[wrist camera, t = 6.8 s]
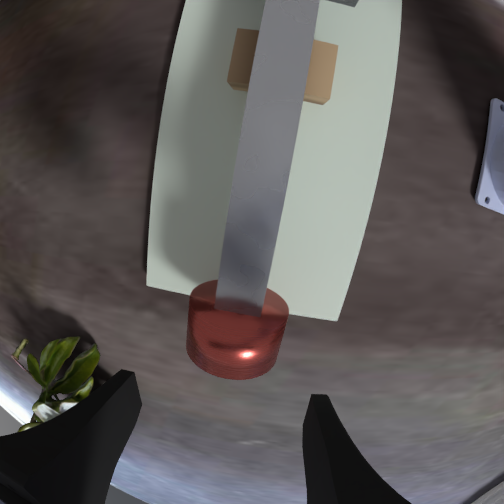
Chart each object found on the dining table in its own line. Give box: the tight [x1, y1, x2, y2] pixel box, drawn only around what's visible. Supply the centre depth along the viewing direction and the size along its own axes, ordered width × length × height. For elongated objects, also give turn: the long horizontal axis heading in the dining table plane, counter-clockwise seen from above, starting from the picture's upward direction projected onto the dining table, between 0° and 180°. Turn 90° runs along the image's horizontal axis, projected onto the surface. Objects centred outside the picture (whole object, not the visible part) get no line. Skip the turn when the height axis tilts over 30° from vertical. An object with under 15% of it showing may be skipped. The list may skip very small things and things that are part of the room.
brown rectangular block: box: [227, 28, 338, 105], centre depth 14 cm, size 5×3×2 cm, turn 81°
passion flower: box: [11, 337, 100, 432], centre depth 22 cm, size 11×11×12 cm
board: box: [147, 0, 402, 321], centre depth 16 cm, size 13×27×1 cm, turn 171°
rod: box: [186, 0, 320, 380], centre depth 13 cm, size 5×21×5 cm, turn 171°
